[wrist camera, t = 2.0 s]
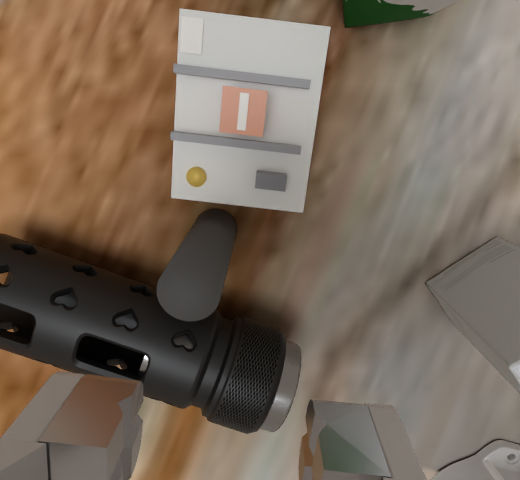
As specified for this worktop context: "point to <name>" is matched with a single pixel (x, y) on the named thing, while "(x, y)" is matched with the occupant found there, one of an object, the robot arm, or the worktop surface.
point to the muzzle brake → (144, 339)
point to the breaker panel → (277, 110)
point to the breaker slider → (243, 111)
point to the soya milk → (389, 10)
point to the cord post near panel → (198, 268)
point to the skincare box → (486, 303)
